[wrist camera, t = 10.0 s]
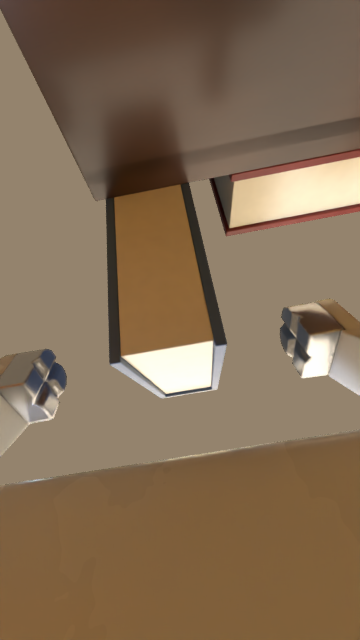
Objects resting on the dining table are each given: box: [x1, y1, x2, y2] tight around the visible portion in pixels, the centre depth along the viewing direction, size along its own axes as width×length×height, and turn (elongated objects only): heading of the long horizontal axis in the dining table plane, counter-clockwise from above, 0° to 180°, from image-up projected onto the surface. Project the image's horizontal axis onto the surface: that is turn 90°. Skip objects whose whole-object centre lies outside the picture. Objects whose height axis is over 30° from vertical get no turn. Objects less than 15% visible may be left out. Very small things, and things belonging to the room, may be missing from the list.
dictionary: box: [209, 149, 360, 236], centre depth 15 cm, size 9×12×4 cm
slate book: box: [106, 183, 227, 398], centre depth 17 cm, size 4×20×10 cm, turn 172°
